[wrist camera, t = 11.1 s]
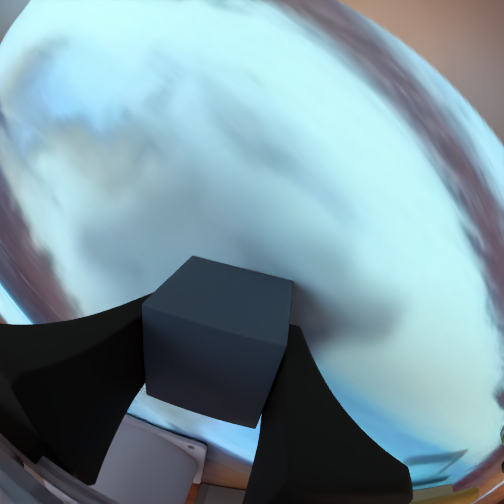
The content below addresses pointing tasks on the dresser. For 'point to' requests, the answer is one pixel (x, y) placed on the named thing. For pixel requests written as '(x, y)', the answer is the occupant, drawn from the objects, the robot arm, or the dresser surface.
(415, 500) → the drawer
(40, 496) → the robot arm
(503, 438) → the supplement bottle
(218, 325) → the block
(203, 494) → the alarm clock
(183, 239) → the dresser surface
